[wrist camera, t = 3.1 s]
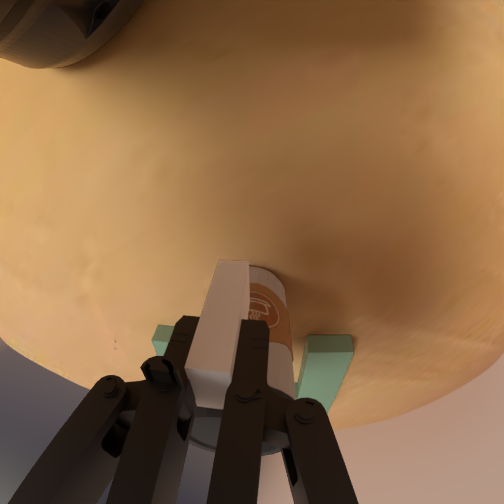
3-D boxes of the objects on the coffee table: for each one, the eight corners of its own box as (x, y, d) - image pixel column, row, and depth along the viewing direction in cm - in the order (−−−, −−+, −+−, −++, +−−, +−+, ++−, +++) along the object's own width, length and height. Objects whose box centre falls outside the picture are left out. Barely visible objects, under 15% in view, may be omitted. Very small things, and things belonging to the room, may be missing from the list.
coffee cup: (306, 265, 25) (321, 424, 13) (282, 327, 30) (278, 462, 17) (215, 245, 25) (161, 397, 12) (205, 311, 30) (168, 444, 17)
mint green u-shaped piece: (158, 324, 31) (149, 344, 29) (350, 335, 30) (355, 356, 27) (182, 393, 40) (178, 409, 37) (325, 402, 38) (326, 419, 36)
